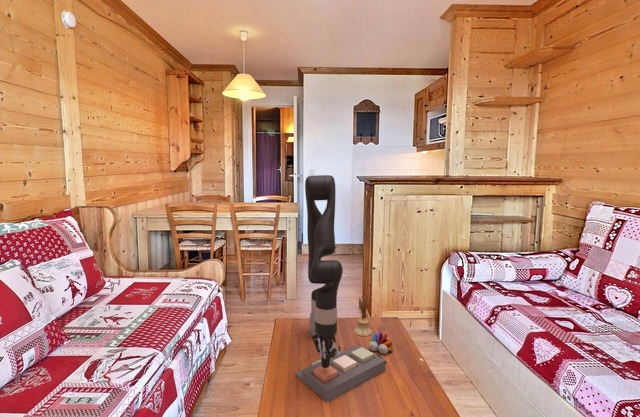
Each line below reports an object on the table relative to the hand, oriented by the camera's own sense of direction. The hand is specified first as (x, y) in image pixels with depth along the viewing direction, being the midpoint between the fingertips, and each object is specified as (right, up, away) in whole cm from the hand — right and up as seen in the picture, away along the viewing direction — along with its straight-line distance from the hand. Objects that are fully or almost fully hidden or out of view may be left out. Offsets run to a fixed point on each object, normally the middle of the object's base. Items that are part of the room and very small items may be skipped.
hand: (325, 366), depth 119 cm
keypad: (+6, -6, +8) cm, 12 cm away
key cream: (+7, -3, +6) cm, 10 cm away
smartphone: (+16, -6, +15) cm, 22 cm away
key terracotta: (0, -4, +1) cm, 4 cm away
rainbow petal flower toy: (+23, -4, +25) cm, 34 cm away
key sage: (+14, -2, +12) cm, 18 cm away
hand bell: (+18, -2, +39) cm, 43 cm away
